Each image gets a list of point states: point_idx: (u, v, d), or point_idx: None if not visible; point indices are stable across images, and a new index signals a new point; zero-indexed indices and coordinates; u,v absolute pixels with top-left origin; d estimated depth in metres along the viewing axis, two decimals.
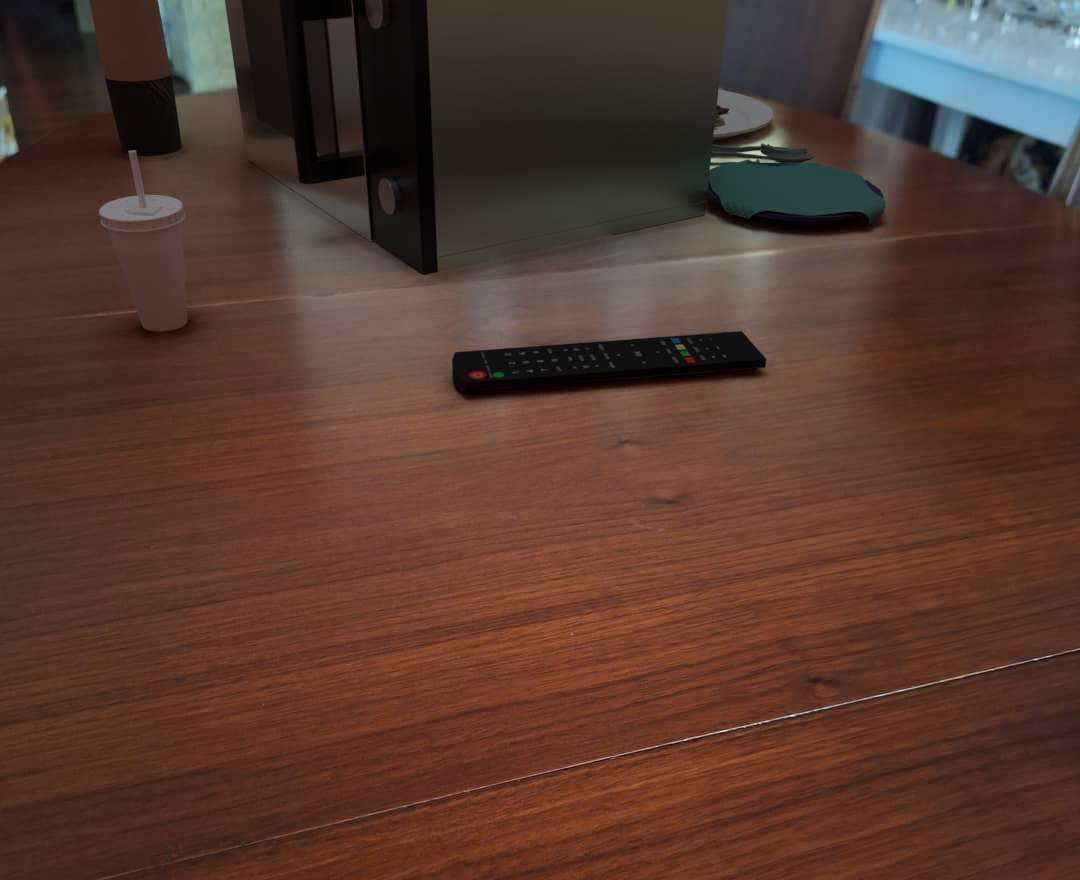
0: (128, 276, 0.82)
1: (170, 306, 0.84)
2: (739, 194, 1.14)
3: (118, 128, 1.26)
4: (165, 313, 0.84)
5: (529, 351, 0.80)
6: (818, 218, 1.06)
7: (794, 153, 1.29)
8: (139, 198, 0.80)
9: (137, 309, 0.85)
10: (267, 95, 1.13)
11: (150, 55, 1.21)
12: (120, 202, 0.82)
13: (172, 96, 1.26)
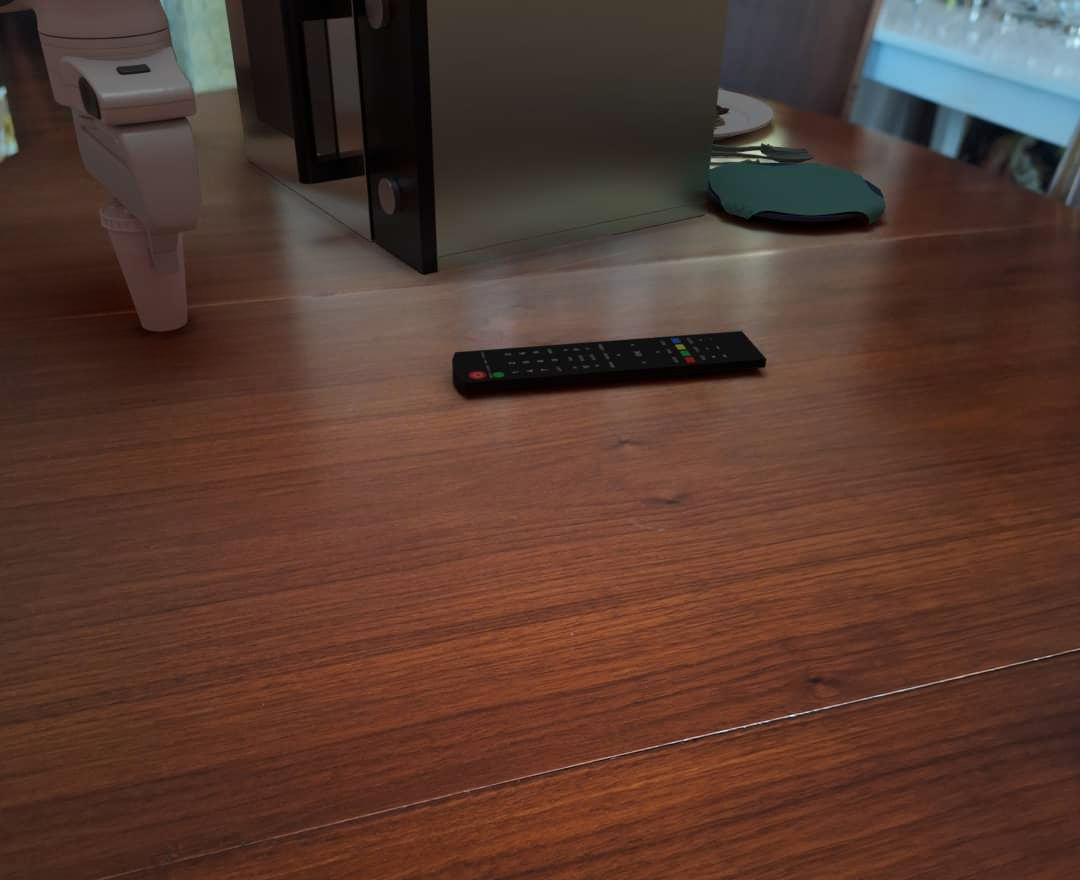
0: (128, 276, 0.82)
1: (170, 306, 0.84)
2: (739, 194, 1.14)
3: None
4: (164, 313, 0.84)
5: (529, 351, 0.80)
6: (818, 218, 1.06)
7: (794, 153, 1.29)
8: None
9: (137, 309, 0.85)
10: (267, 95, 1.13)
11: None
12: None
13: None
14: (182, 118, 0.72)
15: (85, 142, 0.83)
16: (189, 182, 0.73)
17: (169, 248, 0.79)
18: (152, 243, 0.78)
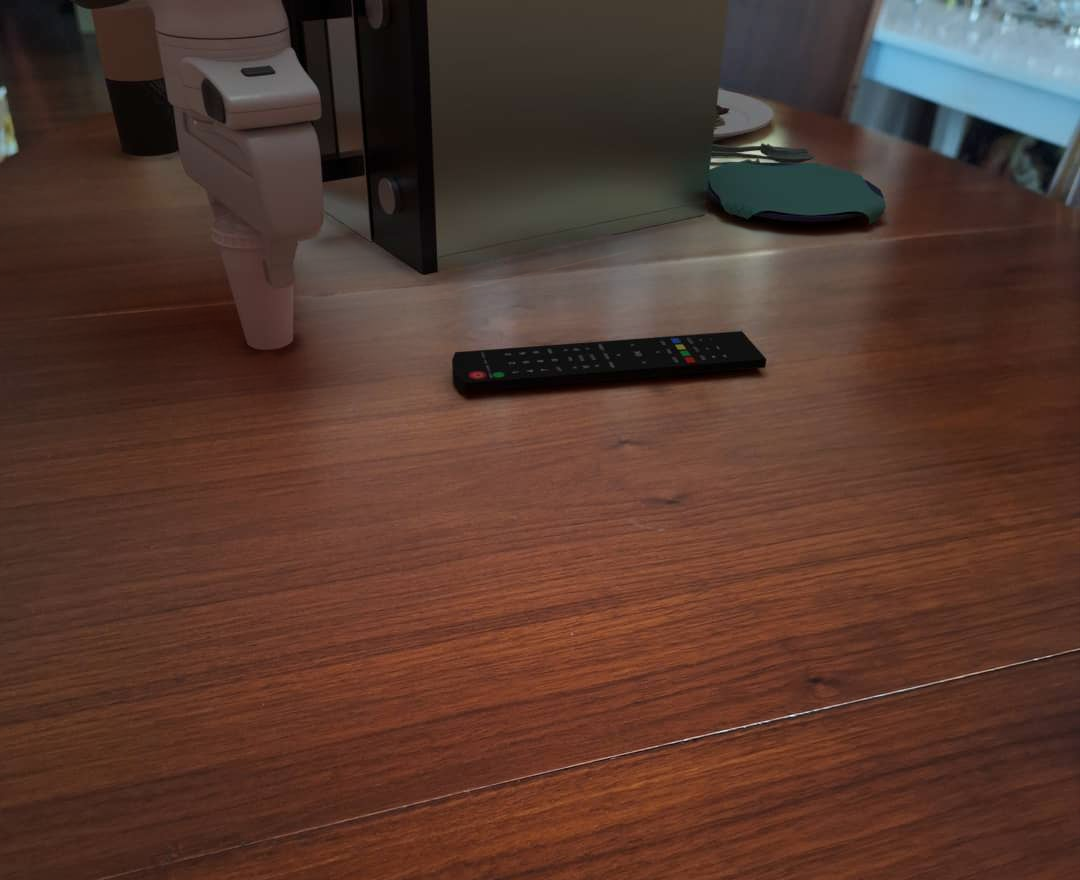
0: (238, 294, 0.80)
1: (278, 324, 0.82)
2: (739, 194, 1.14)
3: (118, 128, 1.26)
4: (273, 331, 0.82)
5: (529, 351, 0.80)
6: (818, 218, 1.06)
7: (794, 153, 1.29)
8: None
9: (244, 327, 0.82)
10: None
11: (150, 55, 1.21)
12: (230, 217, 0.80)
13: None
14: (306, 122, 0.69)
15: (189, 146, 0.80)
16: (313, 188, 0.70)
17: (286, 261, 0.76)
18: (270, 256, 0.74)
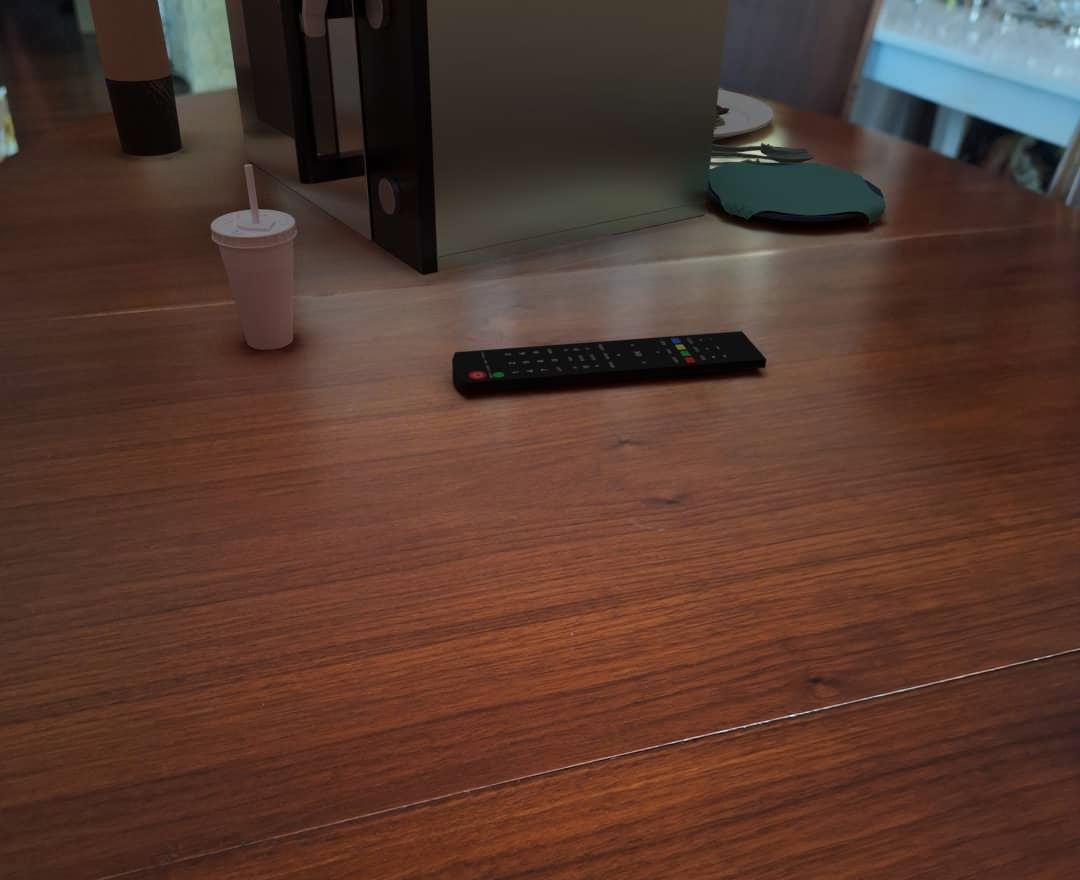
0: (238, 294, 0.80)
1: (278, 324, 0.82)
2: (739, 194, 1.14)
3: (118, 128, 1.26)
4: (273, 331, 0.82)
5: (529, 351, 0.80)
6: (818, 218, 1.06)
7: (794, 153, 1.29)
8: (253, 213, 0.78)
9: (244, 327, 0.82)
10: (267, 95, 1.13)
11: (150, 55, 1.21)
12: (230, 217, 0.80)
13: (172, 96, 1.26)
14: None
15: None
16: None
17: (319, 11, 0.89)
18: (306, 3, 0.88)
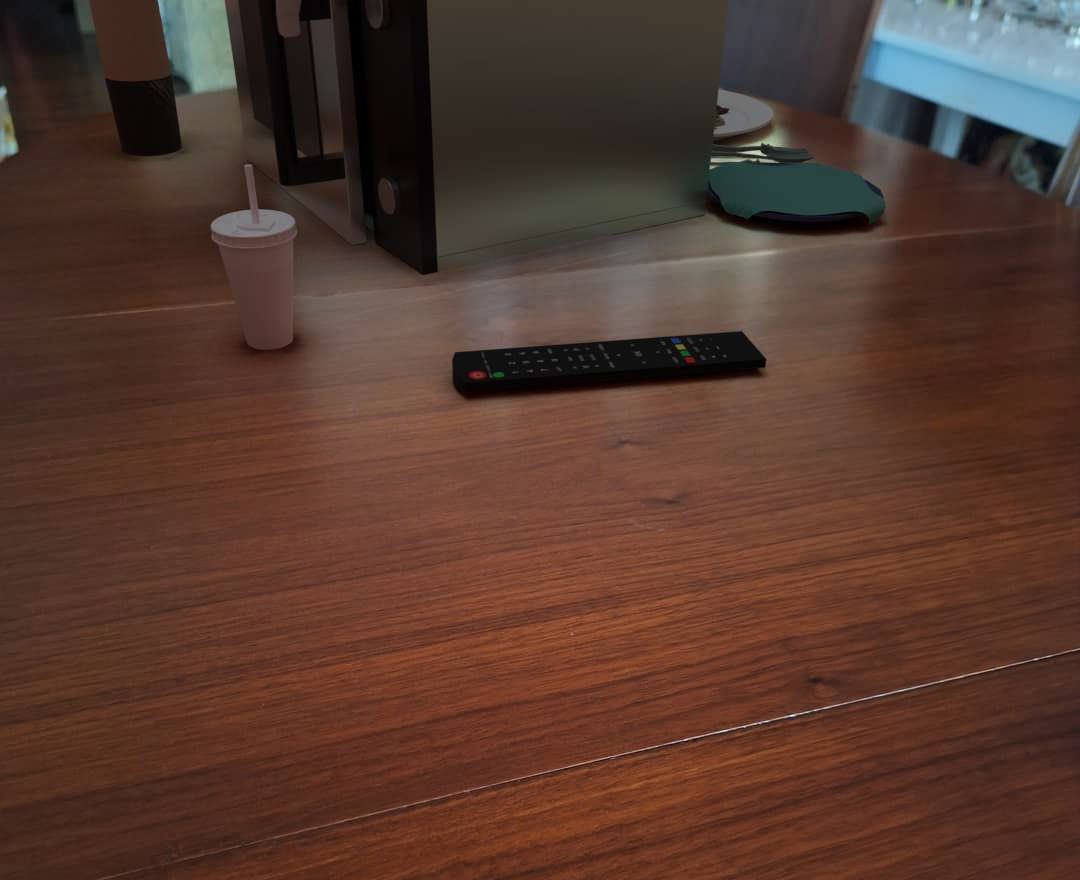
0: (238, 294, 0.80)
1: (278, 324, 0.82)
2: (739, 194, 1.14)
3: (118, 128, 1.26)
4: (273, 331, 0.82)
5: (529, 351, 0.80)
6: (818, 218, 1.06)
7: (794, 153, 1.29)
8: (253, 213, 0.78)
9: (244, 327, 0.82)
10: (261, 95, 1.13)
11: (150, 55, 1.21)
12: (230, 217, 0.80)
13: (172, 96, 1.26)
14: None
15: None
16: None
17: (293, 10, 0.89)
18: (279, 2, 0.88)
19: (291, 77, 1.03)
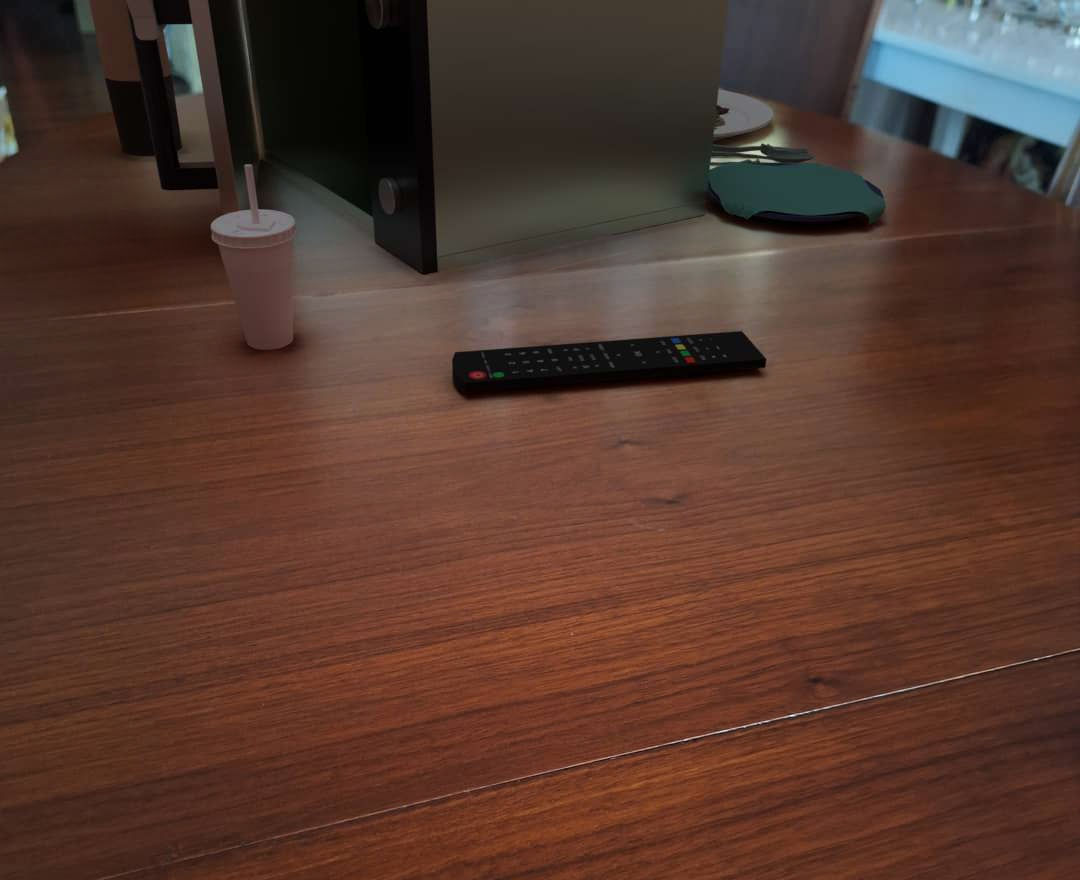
0: (238, 294, 0.80)
1: (278, 324, 0.82)
2: (739, 194, 1.14)
3: (118, 128, 1.26)
4: (273, 331, 0.82)
5: (529, 351, 0.80)
6: (818, 218, 1.06)
7: (794, 153, 1.29)
8: (253, 213, 0.78)
9: (244, 327, 0.82)
10: None
11: None
12: (230, 217, 0.80)
13: (172, 96, 1.26)
14: None
15: None
16: None
17: (146, 13, 0.86)
18: (127, 4, 0.86)
19: None
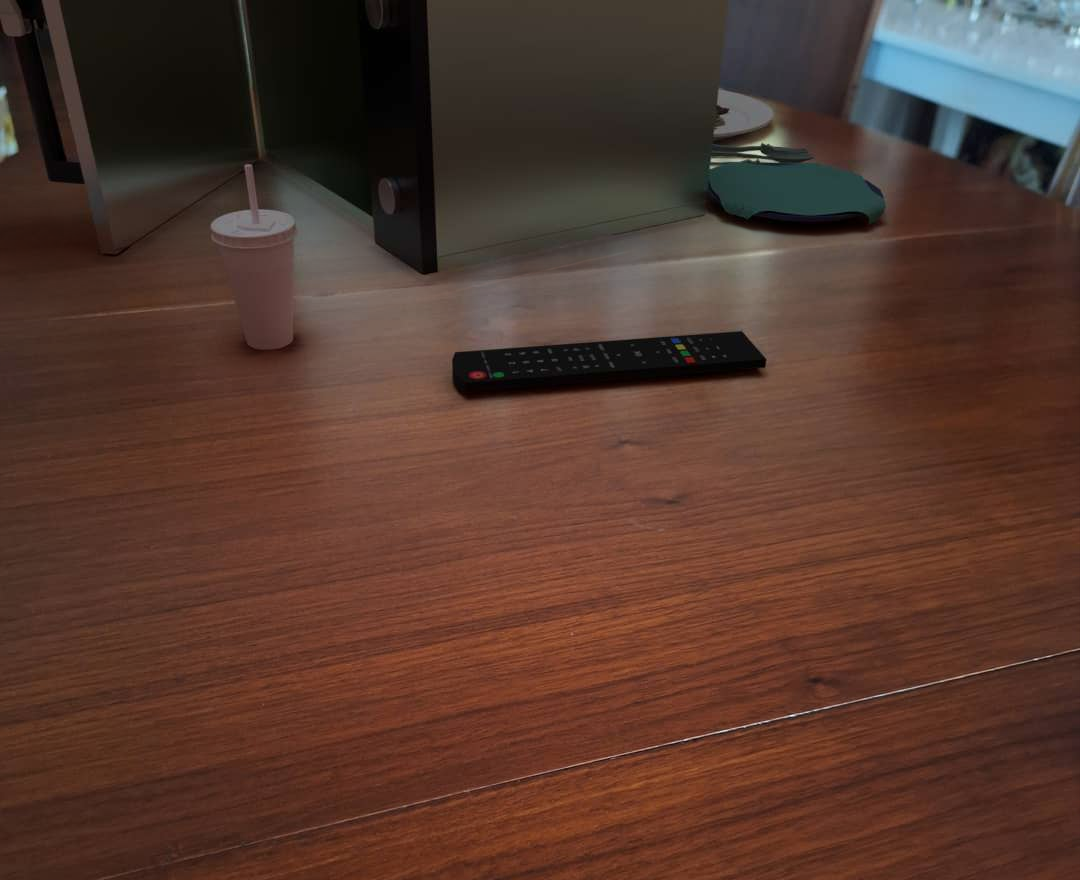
0: (238, 294, 0.80)
1: (278, 324, 0.82)
2: (739, 194, 1.14)
3: None
4: (273, 331, 0.82)
5: (529, 351, 0.80)
6: (818, 218, 1.06)
7: (794, 153, 1.29)
8: (253, 213, 0.78)
9: (244, 327, 0.82)
10: None
11: None
12: (230, 217, 0.80)
13: None
14: None
15: None
16: None
17: (8, 10, 0.88)
18: None
19: None
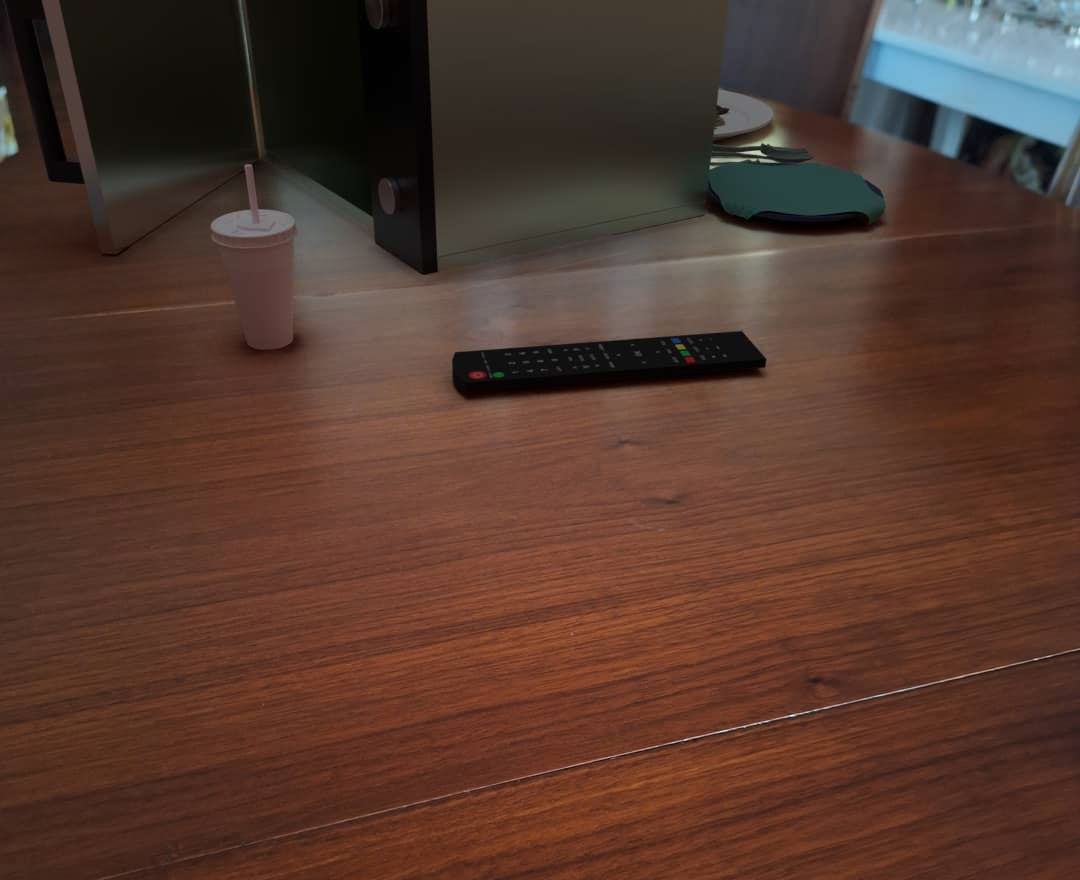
0: (238, 294, 0.80)
1: (278, 324, 0.82)
2: (739, 194, 1.14)
3: None
4: (273, 331, 0.82)
5: (529, 351, 0.80)
6: (818, 218, 1.06)
7: (794, 153, 1.29)
8: (253, 213, 0.78)
9: (244, 327, 0.82)
10: None
11: None
12: (230, 217, 0.80)
13: None
14: None
15: None
16: None
17: None
18: None
19: None
